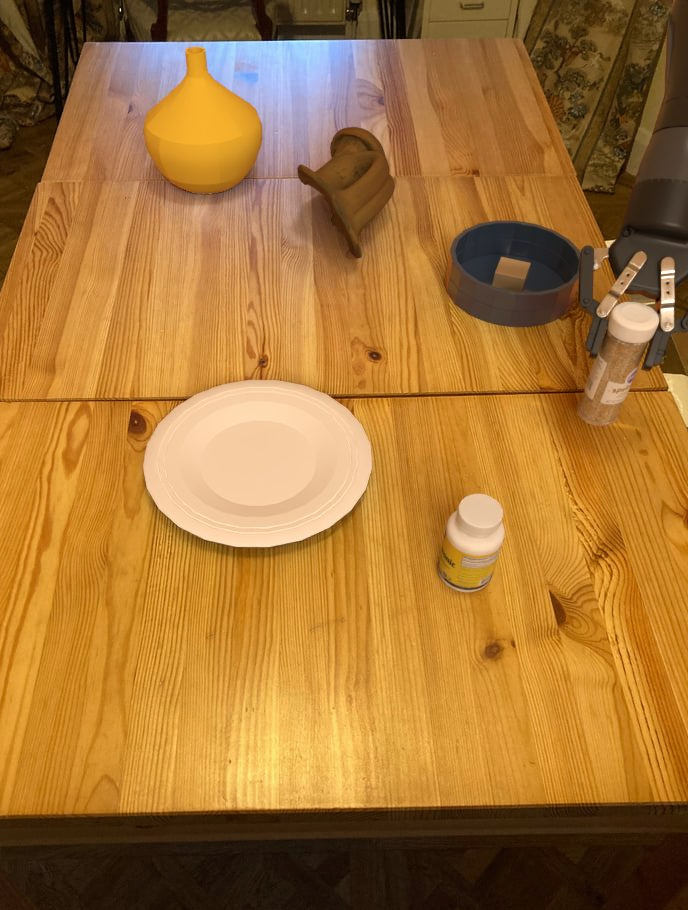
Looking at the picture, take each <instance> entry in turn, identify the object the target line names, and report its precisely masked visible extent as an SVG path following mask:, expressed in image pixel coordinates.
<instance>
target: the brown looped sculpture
mask: <svg viewBox="0 0 688 910" xmlns="http://www.w3.org/2000/svg"><path fill="white" fill-rule="evenodd" d="M382 145H383V144H381V142H380V140H379V139H378V138H377V137H376V136H375V134H373V133H372V132H370V131H369V130H367V129H365V128H362V127H357V126H348V127H343V128H341V129H340V130H337V132H336V133H335V134H334V135H333V136H332V140H331V142H330V147H329V149H330V157H331V158H330V159H328V161H327V162H326V163H324V164H323V165H322V166H320V167H319V168H318V169H317V170H315V171H314V170H312V169H311V168H309V167H307V166H306V165H305V164H298V166H297V169H296V170H297V177H298V179H299V182H300V183H302V184H303V185H305V186H309V187H311V188H313V189H315V190H316V191H317V192H319V193H320V194H321V195H322V196H323V197H324V199H325V200H326V202H327V203H328V204H329V206H330V208H331V210H332V212H331V216H330V218H329V219H330V221H329V222H330V224H331V225H332V226H333V225H334V226H333V227H335V229H336V230H337V231H338V232H340V233H342V234H343V235H344V237H345V240H346V242H347V246H348V248H349V251H350V252H351V254H352V255H353V256H354V257H355V258H356V259H361V258H362V257H363V251H362V248H361V246H360V240H359V236H360V234H361V232H362V231H363V230H364V229H365V228H366V227H367V226H368V225H369V224H371V222H372V221H373V220H374V219H375V218H376V216H377V215H378V214H379V213H380V212H381V211H382V210H383V209H384V207H386V205H387V204H388V203H389V201H390V200H391V198H392V197H393V195H394V193H395V187H396V183H395V180H394V178H393V176H392V175H391V174H390V170H391V169H390V168H391V167H390V164H389V161H388V159H387V157H386V151H385V150H384V147H383V146H382Z"/></svg>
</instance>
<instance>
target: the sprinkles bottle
mask: <svg viewBox="0 0 688 910" xmlns="http://www.w3.org/2000/svg"><path fill="white" fill-rule="evenodd" d="M607 320H608V324H607V327H606V330H605V333H604V336H603V340H602V343H601V346H600V349H599V352H598V355H597V358H596V359H593V360H594V361H593V363H592V366H591V369H590V371H589V373H588V376H587V380H586V382H585V385H584V390H583V394H582V396H581V399H580V400H579V402H578V403H577V406H576V412H577V415H578V417H579V418H580V419H581V420H582V421H583V422H584V423H586V424H587V425H591V426H593V427H594V426H595V427H608V426H611V425H613V424H614V423H615V422H617V420H618V419H619V414H620V411H621V408H622V406H623V404H624V402H625V400H626V398H627V396H628V394H629V391H630V389H631V386H632V384H633V382H634V380H635V378H636V375H637V373H638V370H639V367H640V363H641V361H642V359H643V357H644V354H645V352H646V350H647V348H648V346H649V343H650V340H651V338H652V337H653V336H654V334H655V331H656V329H657V326H658V324H659V316H658V314H657V313H656V311H655V308H654V309H653V307H651V306H649V305H647V304H645V303H642V302H638V301H623V302H620V303H617V304H615V306H614V307H613V308H612V310H611V311H610V313H609V315H608V318H607Z"/></svg>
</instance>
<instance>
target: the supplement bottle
mask: <svg viewBox="0 0 688 910" xmlns="http://www.w3.org/2000/svg"><path fill="white" fill-rule="evenodd" d="M503 518H504V509H503V507H502V505H501V503H499V501H498V500H497V499H495V498H494V497H492V496H490V495H488V494H484V493H471V494H468V495H466V496H465V497H464V498H462V499H461V501H459V504H458V508H457V509H456V510H455V511H454V512H453V513H452V514H451V515H450V516H449V517H448V520H447V522H446V525H445V530H444V533H443V534H444V535H443V540H442V544H441V547H440V551H439V555H438V561H437V572H438V575H439V577H440V579H441V580H442V582H443V583H444V585H446V586H448V587H449V588H451V589H453V590H454V591H457V592H461V593H475V592H479V591H480V590H482V589H485V587H486V586H487V585H489V583H490V581H491V579H492V577H493V575H494V572H495V568H496V565H497V562H498V559H499V556H500V552H501V549H502V546H503V544H504V540H505V536H506V529H505V525H504V523H503Z"/></svg>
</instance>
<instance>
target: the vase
mask: <svg viewBox="0 0 688 910" xmlns="http://www.w3.org/2000/svg"><path fill="white" fill-rule="evenodd" d="M184 54H185V63H186V73H185V75H184V77H183V78H182V80H181V81H180V82H179V83H178V84H177V85H176V86H175V87H174V88H173V89H172V90H171V91H170V92H169V93H168V94H167V95H165V96H164V97H163V98H162V99H161V100H160V101H159V102H157V103H156V104H154V106H153V107H151V109H150V110H148V112H147V113H146V116H145V118H144V122H143V128H142V131H143V137H144V142H145V148H146V152H147V153H148V155H149V157H150V158H151V160H152V162H153V163H154V165H155V167H156V168H157V170H158V171H159V172H160V174H162V175H163V176H164V177H165V178H166V179H167V180H168V181H169V182H170V183H171V184H172V185H174V186H176V187H177V188H179V189H181V190H183V189H184V190H183V191H185V190H186V191H185V192H188V191H189V193H191V192H194V193H193V194H195V193H202V194H201V195H210V194H209V193H217V194H219V193H218V192H221V191H224V192H226V191H225V190H227V191H228V189H229V190H231V189H233V188H234V187H235V186H237V185H238V184H239V183H241V182H242V181H243V180H244V179H245V178H246V177H247V175H248V174H249V172H250V171H251V170H252V168H253V167H254V166H255V164H256V162H257V159H258V156H259V153H260V150H261V148H262V144H263V123H262V121H261V117H260V116H259V114H258V111H257V109H256V107H254V106H253V105H252V104H251V103H250V102H248V101H247V100H245V99H244V98H242V97H241V96H239V95H237V94H236V93H235V92H233V91H232V90H230V89H228V87H226V86H225V85H223V84H221V83H220V81H217V80H216V79H215V78H214V77H213V76H212V74H211V73H209V69H208V63H207V52H206V48H205V47H203V46H189V47H187V48H186V49H185V50H184ZM230 188H231V189H230ZM203 193H205V194H203ZM221 193H222V192H221Z"/></svg>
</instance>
